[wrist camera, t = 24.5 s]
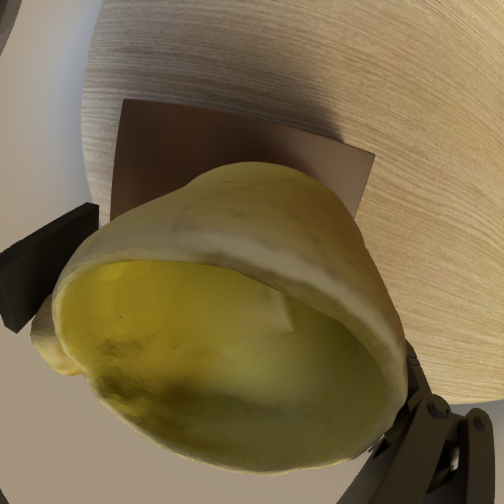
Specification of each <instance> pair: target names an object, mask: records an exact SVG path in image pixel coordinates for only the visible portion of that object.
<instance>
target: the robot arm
mask: <svg viewBox="0 0 504 504" xmlns="http://www.w3.org/2000/svg"><path fill="white" fill-rule="evenodd" d="M97 230H99V205H96V204H92V203H88V202H87V203H85V204H83V205H81V206H79V207H77V208H75V209H74V210H72V211H70V212H68V213H66V214H64V215H63V216H61V217H59V218H57V219H56V220H54V221H52V222H50V223H49V224H47V225H45V226H43V227H42V228H40V229H39V230H37V231H35V232H34V233H32V234H30V235H29V236H27V237H26V238H24V239H22V240H20V241H18V242H16V243H15V244H13V245H12V246H10V248H7V249H6V250H4V251H3V252H1V253H0V314H1V316H2V319H3V322H4V325H5V327H7V328H9V329H10V330H12V331H13V332H15V333H16V334H17V333H18V332H19V331H20V330H21V329H22V328H23V327H24V326H25V325H26V324H27V323H28V321H30V320H31V319H32V318H33V316H34V315H35V314H36V313H37V312H38V310H39V308H40V307H41V305H42V303H43V302H44V301H45V299H46V298H47V297H48V296H49V295H51V294H53V291H54V288H55V286H56V283H57V281H58V279H59V277H60V275H61V272H62V271H63V269H64V267H65V266H66V264H67V263H68V261H69V260H70V258H71V257H72V256H73V254H74V253H75V251H76V250H77V248H78V247H79V246H80V245H81V244H82V243H83V241H84V240H86V239H87V238H88V237H89V236H90V235H92V234H93V233H95V232H96V231H97ZM405 342H406V348H407V356H406V362H407V372H408V393H407V398H406V401H405V403H404V405H403V406H402V407H401V408H400V410H399V411H398V413H397V415H396V418H395V420H394V422H393V425H392V427H391V428H390V429H388V430H387V431H386V432H385V433H384V435H385V436H384V437H383V438H382V439H381V440H380V441H378V442H377V443H376V444H375V445H374V446H373V447H372V448H371V449H370V450H369V451H368V452H369V453H370V452H372V451H373V452H372V454H371V455H370V457H369V459H368V460H367V461H366V463H365V464H364V466H363V467H362V469H361V471H360V472H359V473H358V475H357V476H356V478H355V479H354V481H353V482H352V483H351V485H350V486H349V487H348V489H347V490H346V492H345V493H344V494H343V495H342V497H341V498H340V499H339V501H338V502H337V503H336V504H494V498H495V452H494V438H493V427H492V422H491V420H490V418H489V416H488V414H487V413H486V412H485V411H483V410H481V409H479V408H473V409H471V410H470V411H469V412H468V413H467V414H466V415H465V416H461V415H458V414H454V413H452V412H451V409H450V406H449V405H448V403H447V402H446V401H445V400H444V399H443V398H442V397H441V396H438V395H436V394H432V392H431V390H430V387H429V385H428V382H427V380H426V377H425V375H424V372H423V370H422V367H420V363H419V360H418V359H417V356H416V353H415V351H414V349H413V347H412V346H411V345H410V343H409V342H408V341H407V340H406V339H405ZM457 461H458V468H457V469H455V470H454V469H453V467H454V463H456V462H457ZM0 504H9V503H8V501H7V499H6V498H5V496H4V495H3V493H2V491H1V489H0Z"/></svg>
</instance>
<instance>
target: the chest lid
mask: <svg viewBox="0 0 504 504" xmlns="http://www.w3.org/2000/svg"><path fill="white" fill-rule="evenodd" d="M374 158H375V154H373V153H371V152H368V151H365V150H362V149H360V148H357V147H354V146H351V145H348V144H345V143H342V142H339V141H336V140H333V139H330V138H327V137H324V136H321V135H317V134H314V133H311V132H307V131H304V130H300V129H297V128H293V127H289V126H285V125H282V124H278V123H274V122H270V121H266V120H261V119H257V118H253V117H248V116H243V115H239V114H234V113H229V112H224V111H218V110H213V109H207V108H201V107H195V106H188V105H181V104H174V103H166V102H157V101H147V100H136V99H124V100H123V105H122V111H121V116H120V123H119V129H118V136H117V143H116V151H115V160H114V169H113V180H112V193H111V210H110V222H111V221H112V220H114V219H115V218H117V217H118V216H120V215H122V214H124V213H126V212H128V211H130V210H132V209H134V208H136V207H138V206H140V205H143V204H145V203H147V202H150V201H152V200H155V199H157V198H159V197H162V196H164V195H167V194H169V193H171V192H174V191H176V190H178V189H180V188H182V187H185V186H186V185H187V184H188V183H190V182H191V181H192V180H193V179H195V178H196V177H198V176H200V175H202V174H203V173H206V172H208V171H210V170H212V169H215V168H218V167H221V166H224V165H229V164H235V163H240V162H264V163H271V164H277V165H282V166H286V167H289V168H292V169H295V170H298V171H300V172H302V173H304V174H306V175H308V176H310V177H312V178H314V179H316V180H317V181H319V182H320V183H322V184H323V185H325V186H326V187H328V188H329V189H330V190H332V191H333V192H334V193H335V194H336V195H337V196H338V197H339V198H340V199H341V201H342V202H343V203H344V205H345V206H346V208H347V209H348V211H349V212H350V214H351V216H352V217H353V219H354V218H355V215H356V212H357V209H358V206H359V203H360V201H361V198H362V195H363V192H364V189H365V186H366V183H367V180H368V177H369V174H370V171H371V167H372V164H373V161H374Z"/></svg>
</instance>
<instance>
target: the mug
mask: <svg viewBox="0 0 504 504" xmlns="http://www.w3.org/2000/svg"><path fill="white" fill-rule="evenodd" d="M30 336H31V341H32V344H33V345H34V347H35V348H36V349H37V351H38V352H39V353H40V355H41V356H42V357H43V359H44V360H45V361H46V363H47V364H48V365H49V366H50V367H51V368H53V369H54V370H55V371H57V372H59V373H61V374H66V375H71V376H74V375H79V374H82V373H83V375H84V377H85V379H86V380H87V382H88V384H89V386H90V388H91V389H92V391H93V393H94V394H95V396H96V397H97V399H98V401H99V402H101V403H102V404H103V405H104V406H105V407H107V408H108V409H109V410H110V411H111V412H112V413H114V414H115V415H116V416H117V417H118V418H119V419H120V420H121V421H122V422H123V423H125V424H126V425H127V426H129V427H130V428H132V429H133V430H135V431H136V432H137V433H138V435H140V436H141V437H143V438H144V439H146V440H148V441H150V442H152V443H154V444H155V445H157V446H159V447H161V448H162V449H165V450H167V451H169V452H172V453H174V454H177V455H179V456H181V457H184V458H186V459H189V460H193V461H195V462H197V463H200V464H204V465H207V466H212V467H215V468H219V469H223V470H227V471H231V472H237V473H243V474H256V475H263V476H279V475H283V474H286V473H290V472H293V471H296V470H302V469H314V468H325V467H331V466H333V465H335V464H339V463H343V462H345V461H349V460H353V459H355V458H357V457H358V456H359V455H361V454H362V453H364V452H365V451H366V450H367V449H368V448H370V447H371V446H373V445H374V444H375V443H376V442H377V441H378V440H379V439H380V437H381V436H382V435H383V434H384V433H385V432H386V431H387V430H388V429H390V428H391V427H392V425H393V422H394V420H395V418H396V415H397V413H398V411H399V410H400V408H401V407H402V406H403V405H404V403H405V401H406V398H407V393H408V372H407V362H406V356H407V348H406V342H405V335H404V330H403V327H402V324H401V320H400V317H399V315H398V313H397V311H396V309H395V307H394V305H393V303H392V300H391V298H390V296H389V294H388V292H387V289H386V286H385V284H384V282H383V280H382V278H381V276H380V273H379V271H378V269H377V267H376V265H375V263H374V261H373V260H372V258H371V256H370V254H369V252H368V250H367V249H366V247H365V244H364V240H363V237H362V234H361V232H360V230H359V228H358V226H357V224H356V223H355V221H354V219H353V217H352V216H351V214H350V212H349V211H348V209H347V208H346V206H345V205H344V203H343V202H342V201H341V199H340V198H339V197H338V196H337V195H336V194H335V193H334V192H333V191H332V190H330V189H329V188H328V187H326V186H325V185H323V184H322V183H320V182H319V181H317V180H316V179H314V178H312V177H310V176H308V175H306V174H304V173H302V172H300V171H298V170H295V169H292V168H289V167H286V166H282V165H277V164H271V163H264V162H240V163H235V164H229V165H224V166H221V167H218V168H215V169H212V170H210V171H208V172H206V173H203V174H202V175H200V176H198V177H196V178H195V179H193V180H192V181H191V182H190V183H188V184H187V185H186V186H185V187H182V188H180V189H178V190H176V191H174V192H171V193H169V194H167V195H164V196H162V197H159V198H157V199H155V200H152V201H150V202H147V203H145V204H143V205H140V206H138V207H136V208H134V209H132V210H130V211H128V212H126V213H124V214H122V215H120V216H118V217H117V218H115V219H114V220H112V221H111V222H109V223H108V224H106V225H105V226H103V227H102V228H100V229H99V230H97V231H96V232H95V233H93V234H92V235H90V236H89V237H88V238H87V239H86V240H84V241H83V243H82V244H81V245H80V246H79V247H78V248H77V250H76V251H75V253H74V254H73V256H72V257H71V258H70V260H69V261H68V263H67V264H66V266H65V267H64V269H63V271H62V272H61V275H60V277H59V279H58V281H57V283H56V286H55V288H54V291H53V294H51V295H49V296H48V297H47V298H46V299H45V301H44V302H43V303H42V305H41V307H40V308H39V310H38V312H37V314H36V316H35V318H34V319H33V321H32V327H31V333H30Z"/></svg>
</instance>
